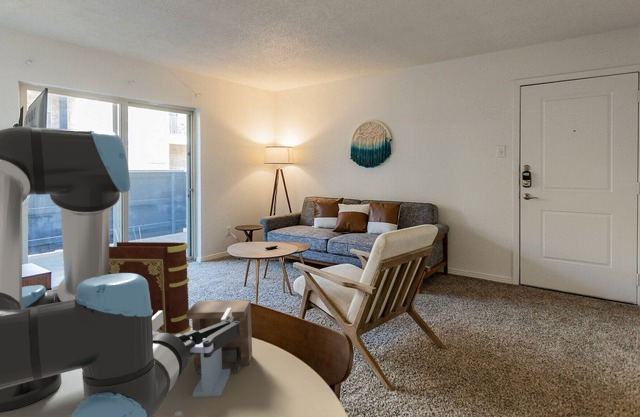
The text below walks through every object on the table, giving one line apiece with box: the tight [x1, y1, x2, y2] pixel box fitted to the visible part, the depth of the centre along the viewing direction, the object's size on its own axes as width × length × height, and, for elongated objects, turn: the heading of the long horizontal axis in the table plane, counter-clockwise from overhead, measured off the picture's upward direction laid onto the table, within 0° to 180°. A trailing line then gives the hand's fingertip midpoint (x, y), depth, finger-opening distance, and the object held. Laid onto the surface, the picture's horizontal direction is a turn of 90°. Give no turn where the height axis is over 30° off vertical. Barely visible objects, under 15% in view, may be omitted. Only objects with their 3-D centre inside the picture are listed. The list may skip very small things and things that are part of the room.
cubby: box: [186, 299, 253, 375], centre depth 97 cm, size 14×9×16 cm, turn 91°
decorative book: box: [108, 241, 192, 339], centre depth 105 cm, size 22×8×30 cm, turn 83°
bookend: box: [192, 348, 231, 398], centre depth 88 cm, size 6×10×11 cm, turn 1°
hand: (195, 315), depth 76 cm, fingers open, 13 cm apart
